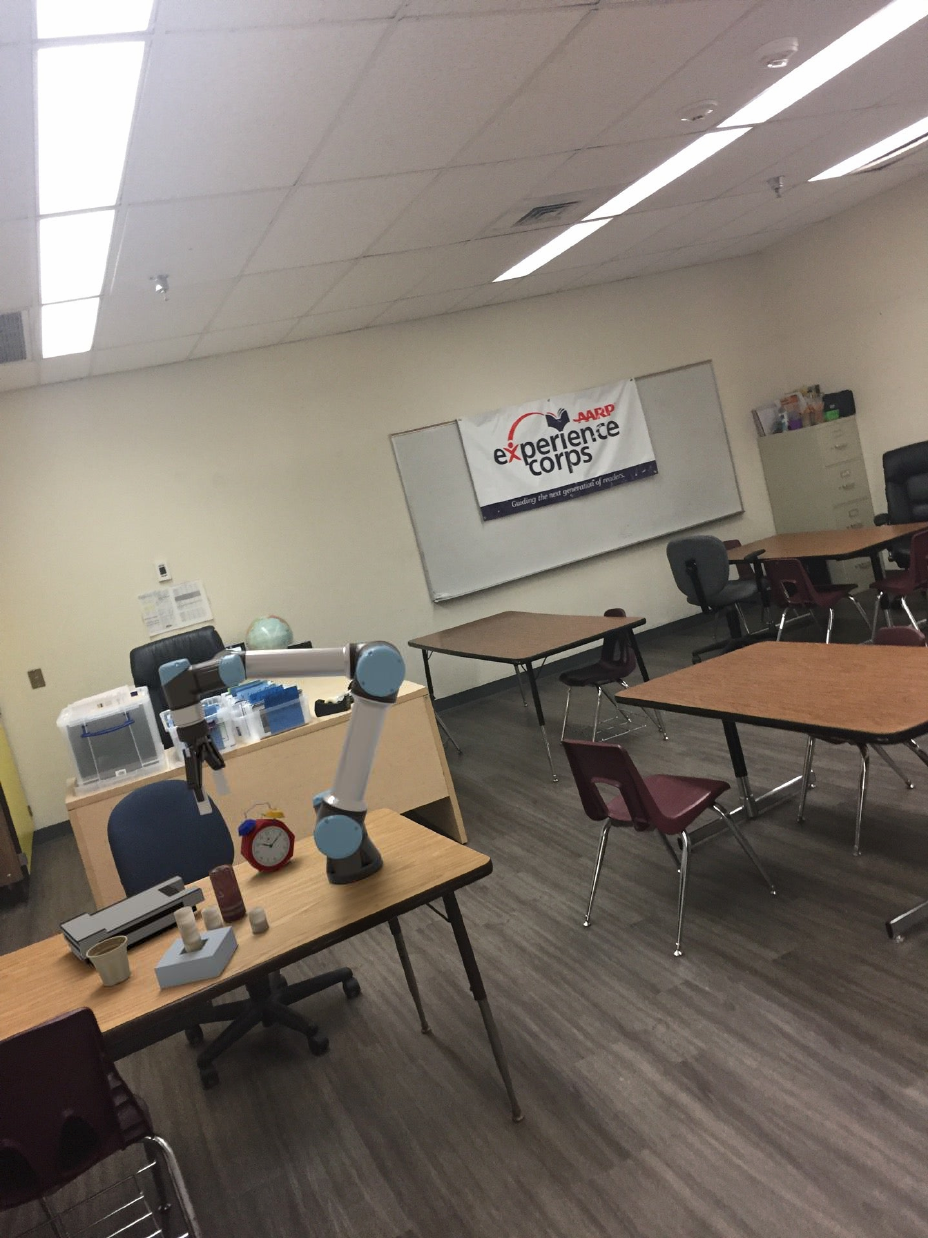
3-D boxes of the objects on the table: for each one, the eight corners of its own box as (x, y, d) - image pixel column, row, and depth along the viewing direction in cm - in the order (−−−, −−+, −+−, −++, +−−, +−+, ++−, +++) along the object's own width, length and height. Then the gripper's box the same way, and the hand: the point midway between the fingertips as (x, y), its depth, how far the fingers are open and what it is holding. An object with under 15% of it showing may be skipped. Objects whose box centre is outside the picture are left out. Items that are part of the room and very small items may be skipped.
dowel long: (211, 960, 215) (193, 905, 214) (205, 969, 212) (187, 913, 210) (195, 963, 216) (177, 908, 214) (189, 972, 212) (171, 916, 210)
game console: (209, 913, 246) (200, 884, 245) (88, 973, 228) (78, 942, 227) (182, 897, 263) (174, 871, 262) (69, 952, 245) (59, 924, 244)
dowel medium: (228, 933, 228) (219, 903, 227) (223, 941, 224) (214, 911, 223) (213, 937, 229) (204, 907, 228) (208, 944, 225) (198, 914, 224)
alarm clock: (255, 881, 259) (234, 815, 257) (244, 875, 267) (224, 811, 264) (302, 859, 267) (283, 795, 264) (291, 854, 274) (272, 791, 272)
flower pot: (104, 975, 223) (93, 942, 222) (142, 964, 224) (131, 931, 222) (91, 995, 214) (80, 961, 213) (131, 983, 214) (120, 949, 213)
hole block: (237, 945, 220) (231, 925, 219) (219, 976, 206) (212, 955, 205) (182, 957, 221) (176, 938, 221) (160, 989, 207) (154, 968, 207)
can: (241, 921, 234) (225, 870, 232) (219, 925, 235) (203, 874, 233) (251, 909, 239) (236, 860, 238) (229, 913, 241) (214, 864, 239)
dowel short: (271, 924, 227) (266, 905, 226) (262, 932, 223) (257, 913, 222) (258, 926, 228) (252, 907, 228) (249, 934, 224) (243, 914, 224)
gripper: (193, 713, 238) (217, 790, 240) (156, 740, 213) (183, 825, 216) (221, 706, 237) (244, 783, 240) (186, 732, 212) (213, 818, 215)
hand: (215, 803), depth 228 cm, fingers open, 13 cm apart
